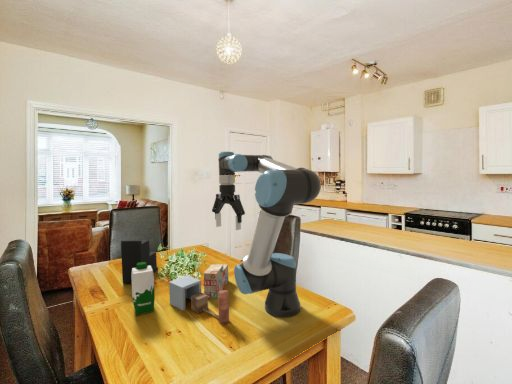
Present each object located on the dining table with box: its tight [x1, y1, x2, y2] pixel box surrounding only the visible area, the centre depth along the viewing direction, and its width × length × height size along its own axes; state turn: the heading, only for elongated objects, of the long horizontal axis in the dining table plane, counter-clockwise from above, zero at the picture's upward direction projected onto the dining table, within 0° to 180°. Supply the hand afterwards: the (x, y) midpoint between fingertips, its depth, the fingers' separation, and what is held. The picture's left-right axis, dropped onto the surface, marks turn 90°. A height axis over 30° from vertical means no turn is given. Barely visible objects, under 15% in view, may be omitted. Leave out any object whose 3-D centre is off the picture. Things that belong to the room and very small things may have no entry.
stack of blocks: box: [203, 263, 229, 300], centre depth 139 cm, size 21×6×12 cm, turn 171°
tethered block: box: [190, 289, 230, 325], centre depth 114 cm, size 20×5×12 cm, turn 49°
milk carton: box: [131, 262, 156, 316], centre depth 118 cm, size 9×9×20 cm
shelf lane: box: [168, 275, 202, 312], centre depth 124 cm, size 10×10×10 cm
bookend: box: [120, 239, 159, 285], centre depth 158 cm, size 23×11×24 cm, turn 179°
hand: (228, 228), depth 134 cm, fingers open, 13 cm apart
